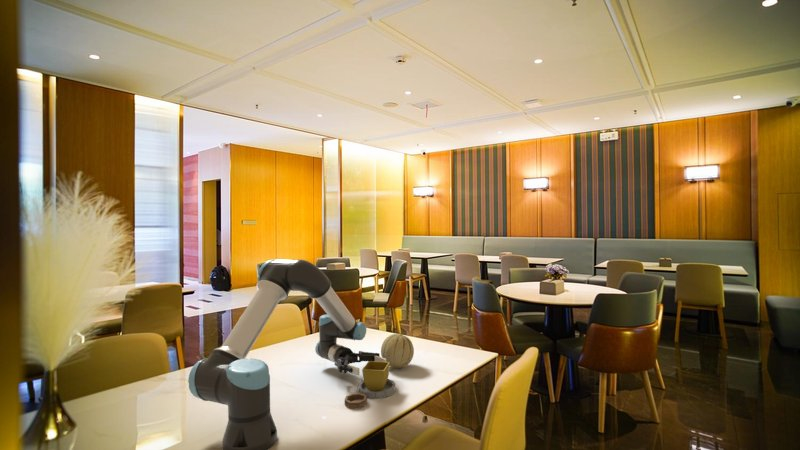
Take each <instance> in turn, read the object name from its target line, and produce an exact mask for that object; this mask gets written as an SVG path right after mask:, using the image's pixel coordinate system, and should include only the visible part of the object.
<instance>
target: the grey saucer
mask: <svg viewBox="0 0 800 450" xmlns="http://www.w3.org/2000/svg"><path fill="white" fill-rule="evenodd" d="M396 389H397V384H396V383H395V381H394V380H393V379H390V378H388V380H387V382H386V384H385V387H384V388H383V390H382V391H369V390H368V389H367V387H366V385H365V383H364V380H363V381H361V382H359V384H358V385H357V390H358V393H362V394H364V395H366V396H367V399H383V398H388V397H389V396H392V395H393V394H395V392H396Z"/></svg>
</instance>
